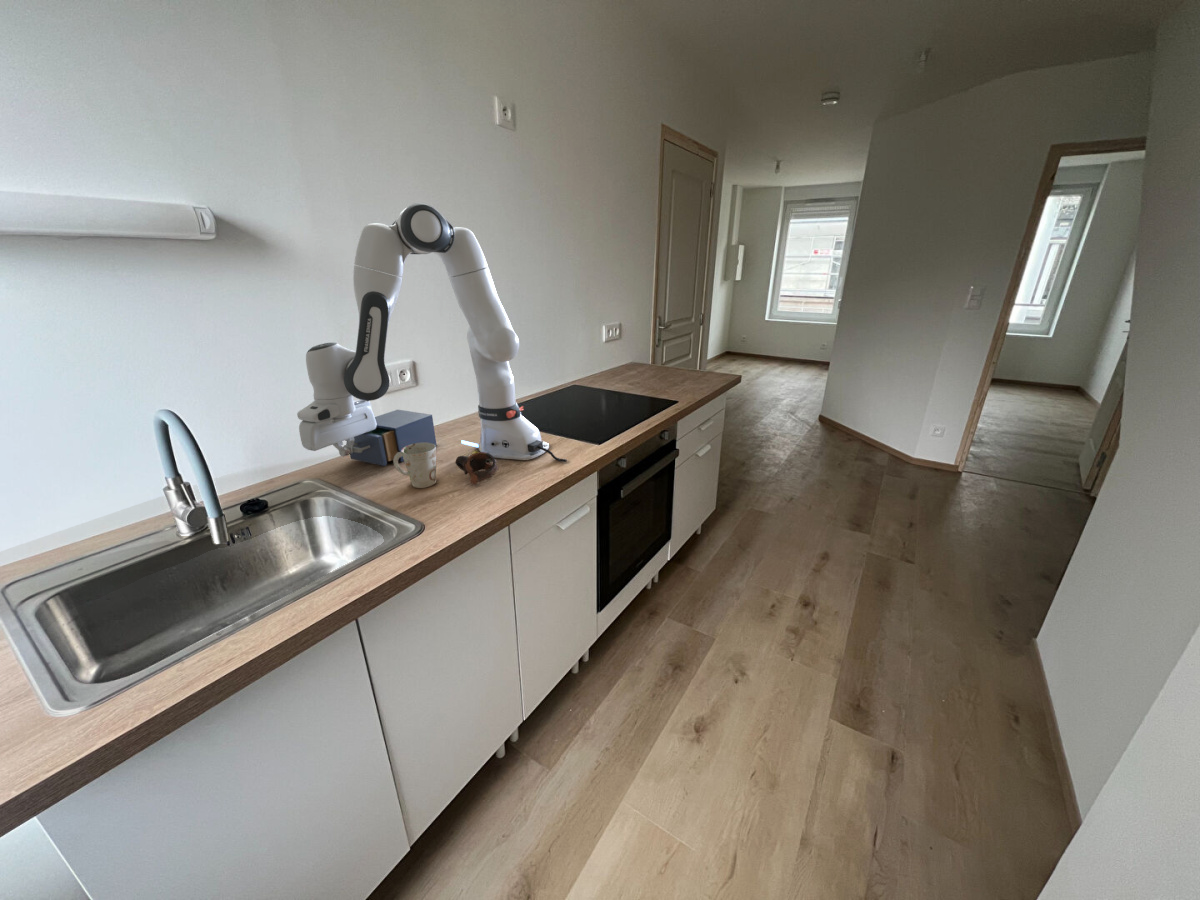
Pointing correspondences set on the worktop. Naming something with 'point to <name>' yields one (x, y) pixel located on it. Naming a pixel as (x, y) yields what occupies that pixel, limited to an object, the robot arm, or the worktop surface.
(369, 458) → the drawer
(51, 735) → the worktop surface
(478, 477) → the pottery mug
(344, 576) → the worktop surface
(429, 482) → the mug
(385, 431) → the jar
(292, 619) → the worktop surface
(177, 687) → the worktop surface
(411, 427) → the cabinet
